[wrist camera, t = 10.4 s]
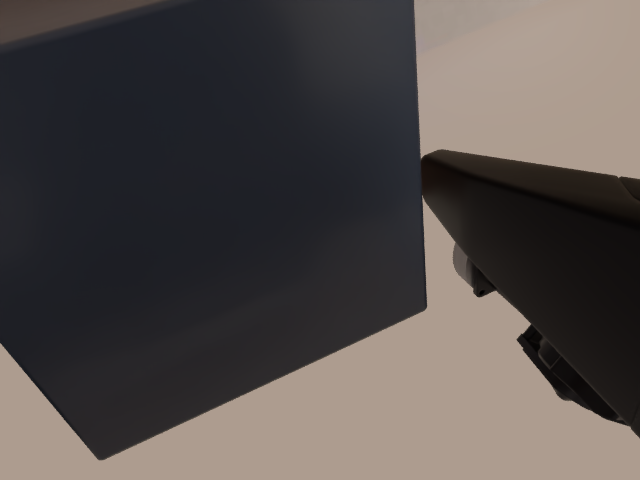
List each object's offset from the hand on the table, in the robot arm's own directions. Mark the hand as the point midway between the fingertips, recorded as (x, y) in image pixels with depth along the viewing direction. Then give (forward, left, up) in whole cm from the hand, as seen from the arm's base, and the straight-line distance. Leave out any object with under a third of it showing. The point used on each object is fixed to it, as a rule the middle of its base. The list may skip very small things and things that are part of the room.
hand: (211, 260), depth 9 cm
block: (+3, 0, 0) cm, 3 cm away
